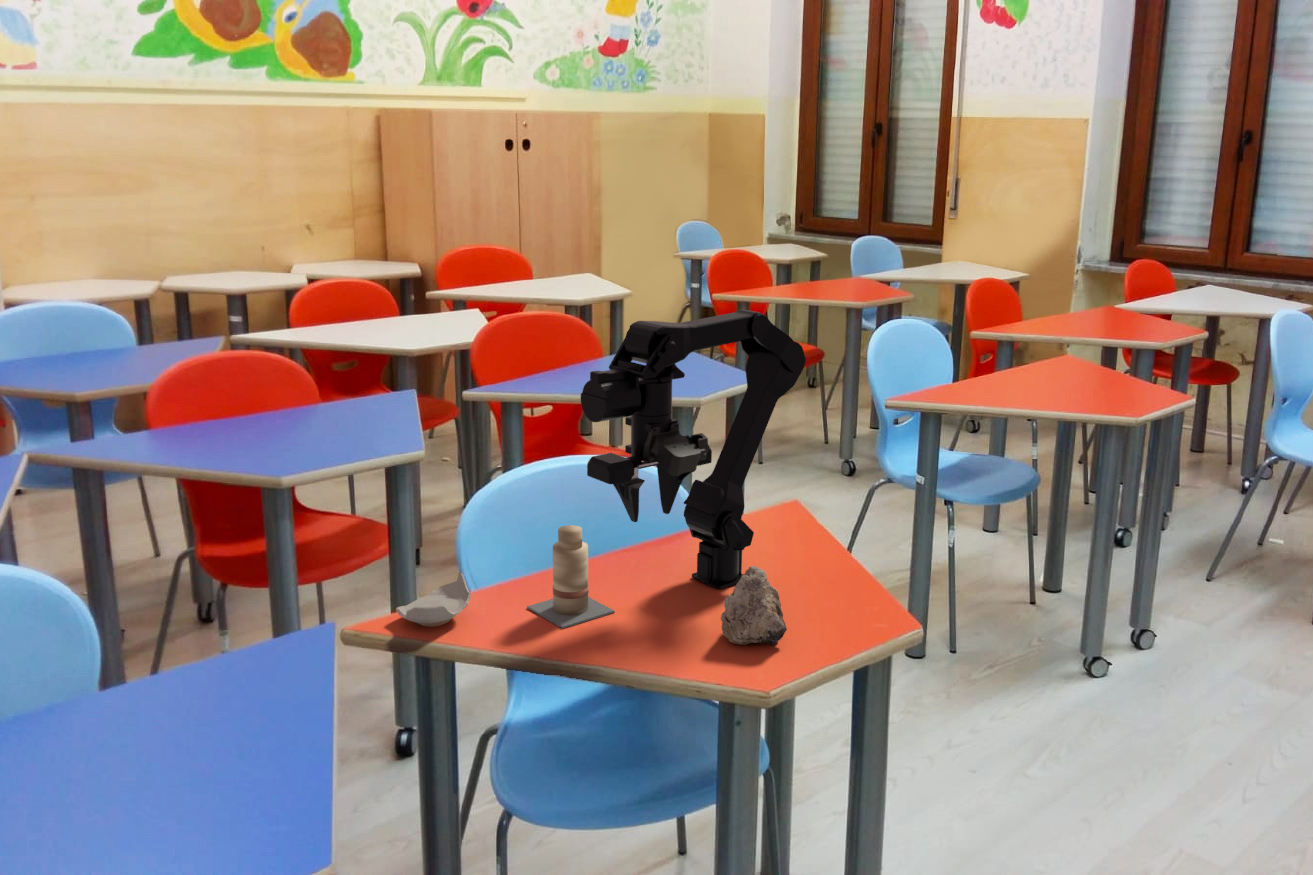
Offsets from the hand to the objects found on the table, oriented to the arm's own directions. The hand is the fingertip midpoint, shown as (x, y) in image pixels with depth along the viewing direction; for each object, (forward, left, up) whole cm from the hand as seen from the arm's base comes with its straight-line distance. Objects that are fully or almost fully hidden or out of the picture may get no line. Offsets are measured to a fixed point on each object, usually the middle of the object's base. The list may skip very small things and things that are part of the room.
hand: (650, 517), depth 160 cm
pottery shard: (+28, -13, -13) cm, 34 cm away
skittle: (+11, -5, -13) cm, 17 cm away
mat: (+11, -5, -13) cm, 18 cm away
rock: (-3, +18, -13) cm, 22 cm away
